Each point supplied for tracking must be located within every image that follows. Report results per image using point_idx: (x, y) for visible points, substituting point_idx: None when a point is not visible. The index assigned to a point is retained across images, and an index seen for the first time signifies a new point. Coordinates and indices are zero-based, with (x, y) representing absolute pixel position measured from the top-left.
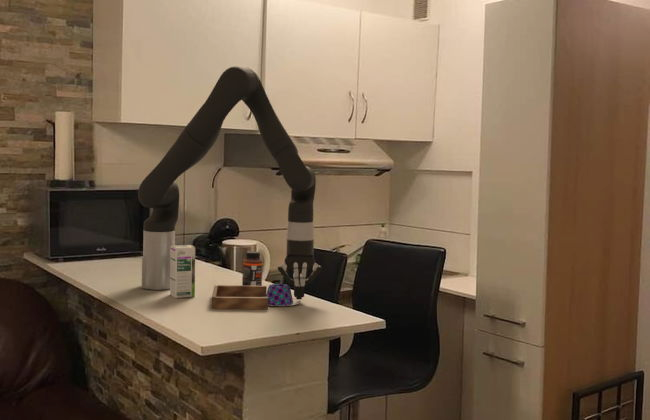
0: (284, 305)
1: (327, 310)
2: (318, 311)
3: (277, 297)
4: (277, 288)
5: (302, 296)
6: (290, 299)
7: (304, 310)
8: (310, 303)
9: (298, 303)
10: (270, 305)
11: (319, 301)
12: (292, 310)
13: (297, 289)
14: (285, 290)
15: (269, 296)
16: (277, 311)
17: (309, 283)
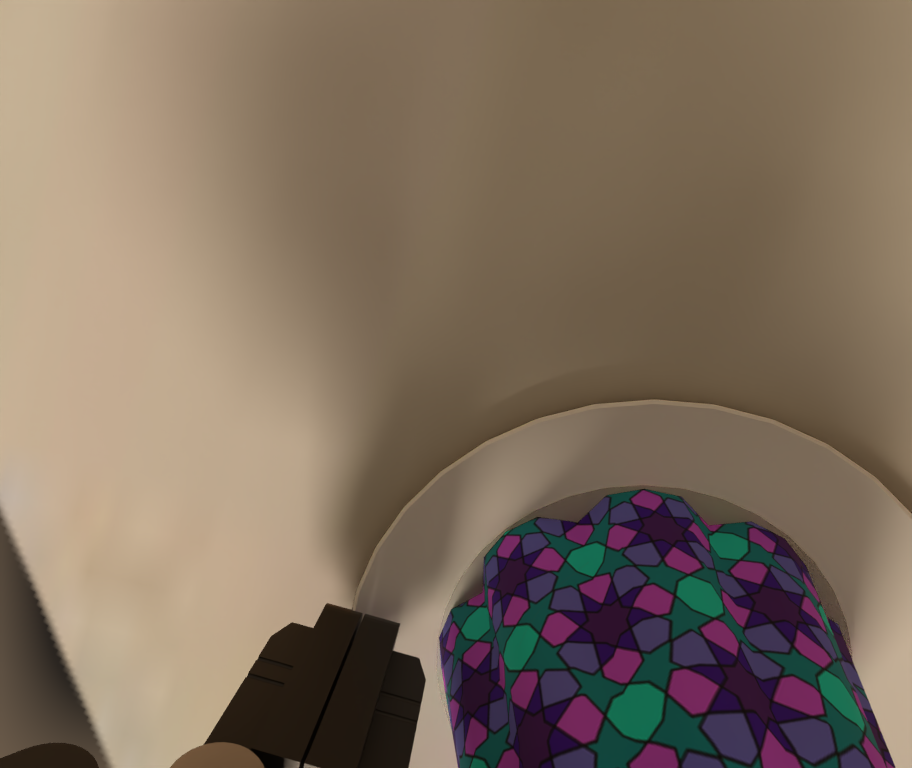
0: (629, 493)
1: (107, 60)
2: (255, 17)
3: (764, 607)
4: (826, 764)
5: (301, 634)
6: (517, 583)
7: (444, 132)
8: (231, 538)
9: (415, 496)
10: (871, 485)
11: (91, 613)
12: (626, 170)
13: (356, 730)
14: (624, 706)
15: (867, 711)
16: (894, 149)
17: (51, 756)
